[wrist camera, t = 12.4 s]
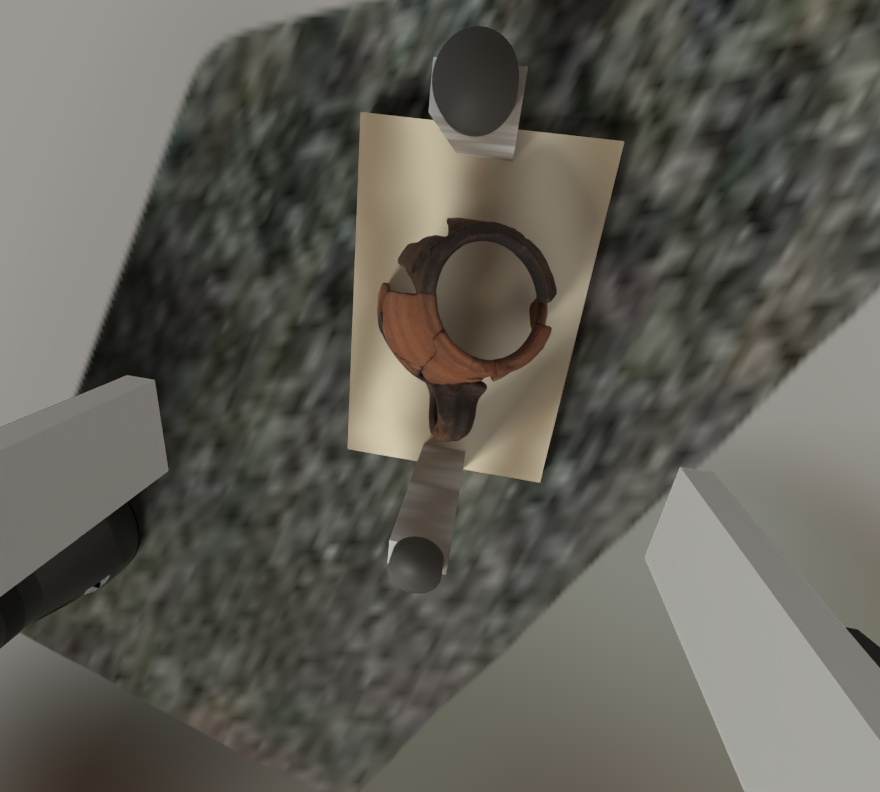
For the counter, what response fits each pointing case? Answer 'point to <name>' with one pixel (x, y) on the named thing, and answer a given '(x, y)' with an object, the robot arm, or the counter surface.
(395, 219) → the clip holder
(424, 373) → the pottery mug
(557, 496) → the counter surface
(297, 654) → the counter surface
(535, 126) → the counter surface
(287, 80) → the counter surface
